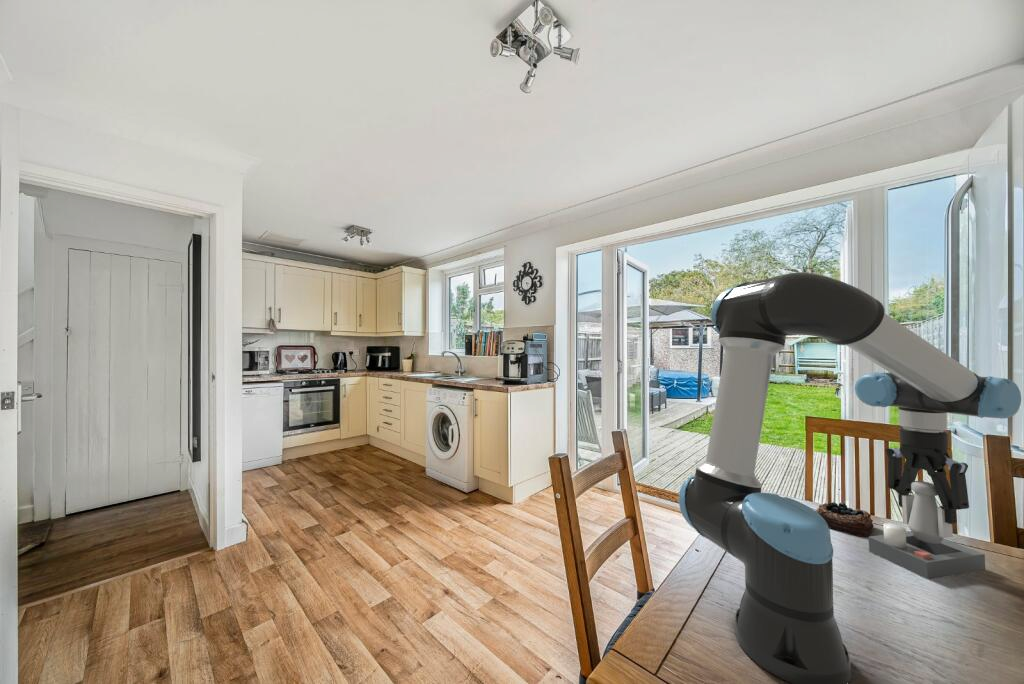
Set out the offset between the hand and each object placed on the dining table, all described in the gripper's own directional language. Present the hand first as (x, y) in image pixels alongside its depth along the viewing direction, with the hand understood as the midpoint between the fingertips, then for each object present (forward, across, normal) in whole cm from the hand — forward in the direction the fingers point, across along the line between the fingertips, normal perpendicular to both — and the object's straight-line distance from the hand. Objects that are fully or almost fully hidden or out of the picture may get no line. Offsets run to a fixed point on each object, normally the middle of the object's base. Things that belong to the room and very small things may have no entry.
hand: (926, 529), depth 85 cm
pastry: (+7, +18, +1) cm, 19 cm away
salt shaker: (+3, 0, 0) cm, 3 cm away
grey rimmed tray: (+7, 0, +1) cm, 7 cm away
